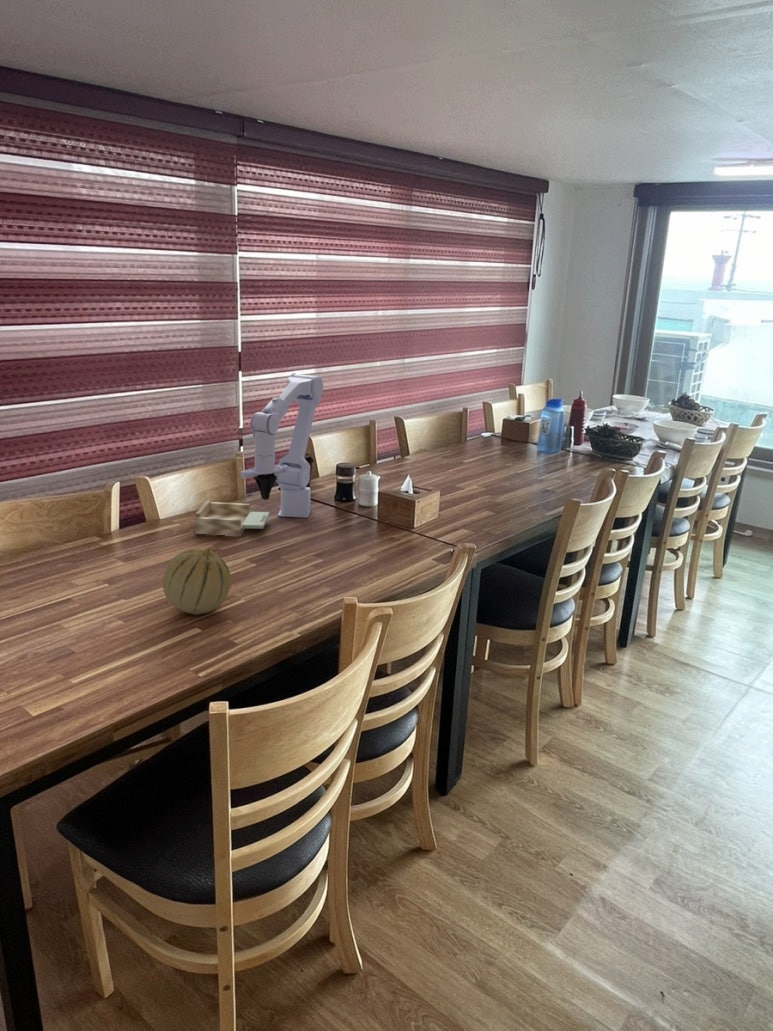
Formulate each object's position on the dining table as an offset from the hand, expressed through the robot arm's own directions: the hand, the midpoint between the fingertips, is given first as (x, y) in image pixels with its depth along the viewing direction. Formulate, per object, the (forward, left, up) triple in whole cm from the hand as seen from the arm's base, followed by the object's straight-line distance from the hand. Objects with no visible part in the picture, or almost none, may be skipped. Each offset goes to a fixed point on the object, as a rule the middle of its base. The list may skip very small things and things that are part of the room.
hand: (265, 498), depth 214 cm
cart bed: (+13, 0, -9) cm, 16 cm away
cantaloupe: (+6, +55, -10) cm, 56 cm away
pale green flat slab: (+6, 0, -7) cm, 9 cm away
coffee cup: (-6, -39, -10) cm, 41 cm away
